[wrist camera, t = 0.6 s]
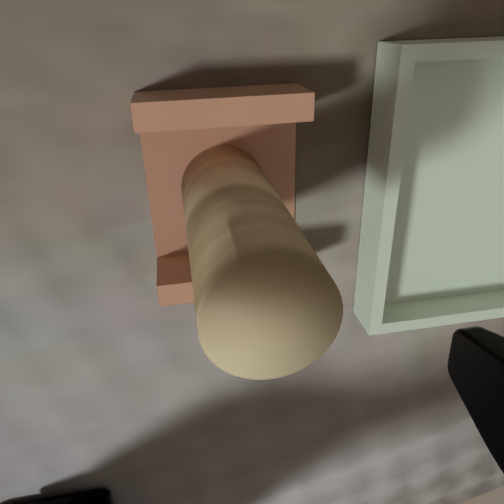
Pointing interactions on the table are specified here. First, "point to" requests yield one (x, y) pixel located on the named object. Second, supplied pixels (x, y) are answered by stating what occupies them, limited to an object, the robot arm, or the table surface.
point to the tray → (433, 187)
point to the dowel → (253, 271)
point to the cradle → (204, 137)
